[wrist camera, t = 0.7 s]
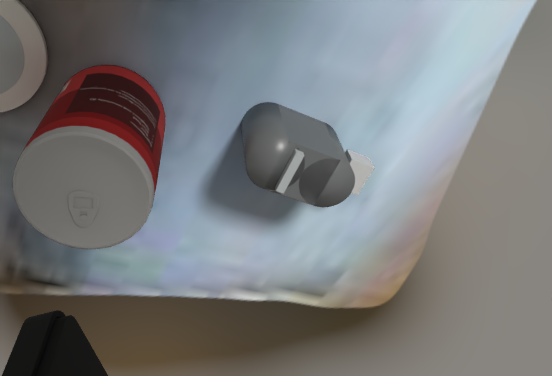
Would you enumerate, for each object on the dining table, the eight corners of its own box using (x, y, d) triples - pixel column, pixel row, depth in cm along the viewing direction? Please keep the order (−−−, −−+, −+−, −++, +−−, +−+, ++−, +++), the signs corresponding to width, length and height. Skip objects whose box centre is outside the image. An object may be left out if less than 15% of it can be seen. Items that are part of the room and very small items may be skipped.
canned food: (76, 166, 41) (37, 258, 31) (43, 67, 36) (-13, 140, 27) (175, 154, 41) (166, 242, 32) (154, 54, 37) (136, 122, 27)
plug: (233, 139, 41) (237, 183, 35) (254, 94, 39) (261, 133, 34) (343, 179, 44) (363, 225, 38) (367, 139, 42) (391, 182, 37)
